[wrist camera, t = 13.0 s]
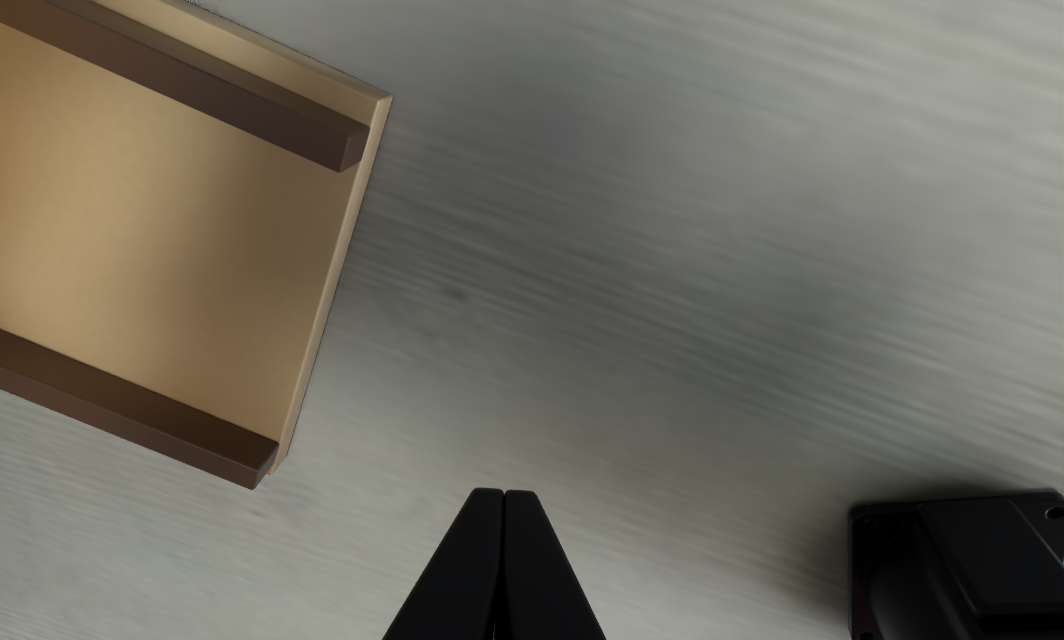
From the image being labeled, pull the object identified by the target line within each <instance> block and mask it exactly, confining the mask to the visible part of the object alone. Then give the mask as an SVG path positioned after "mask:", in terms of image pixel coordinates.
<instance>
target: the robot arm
mask: <svg viewBox="0 0 1064 640" xmlns="http://www.w3.org/2000/svg"><path fill="white" fill-rule="evenodd" d="M1053 507H1054V508H1053ZM1051 508H1052V509H1051ZM1049 509H1050V510H1049ZM866 519H870V520H869V521H866V522H862V521H863V520H866ZM1063 563H1064V497H1063V496H1062V495H1061V494H1059V493H1056V492H1044V493H1030V494H1015V495H1001V496H986V497H972V498H958V499H943V500H929V501H915V502H900V503H886V504H871V505H862V506H857V507H856V508H854V509H852V510H851V512H850V513H849V515H848V630H849V633H850V635H851V638H852V640H1064V564H1063ZM493 637H494V640H606V638H605V636H604V633H603V631H602V629H601V627H600V625H599V623H598V621H597V619H596V617H595V615H594V613H593V611H592V609H591V606H590V604H589V602H588V600H587V598H586V596H585V594H584V592H583V590H582V588H581V586H580V584H579V582H578V580H577V577H576V575H575V573H574V571H573V569H572V567H571V565H570V563H569V561H568V559H567V557H566V555H565V553H564V550H563V548H562V546H561V544H560V542H559V540H558V538H557V536H556V534H555V532H554V530H553V528H552V526H551V524H550V521H549V519H548V517H547V515H546V513H545V511H544V509H543V507H542V505H541V503H540V501H539V499H538V497H537V495H536V494H535V493H534V492H533V491H525V490H507V491H506V492H505V494H504V493H503V491H502V490H501V489H494V488H475V489H474V490H473V491H472V492H471V493H470V495H469V497H468V498H467V500H466V502H465V503H464V505H463V507H462V508H461V510H460V511H459V513H458V515H457V516H456V518H455V520H454V521H453V523H452V525H451V526H450V528H449V530H448V531H447V533H446V535H445V536H444V538H443V540H442V541H441V543H440V544H439V546H438V548H437V549H436V551H435V553H434V554H433V556H432V558H431V559H430V561H429V563H428V564H427V566H426V568H425V569H424V571H423V573H422V574H421V576H420V577H419V579H418V581H417V582H416V584H415V586H414V587H413V589H412V591H411V592H410V594H409V596H408V597H407V599H406V601H405V602H404V604H403V606H402V607H401V609H400V610H399V612H398V614H397V615H396V617H395V619H394V620H393V622H392V624H391V625H390V627H389V629H388V630H387V632H386V634H385V635H384V637H383V638H382V640H493Z"/></svg>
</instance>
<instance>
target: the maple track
mask: <svg viewBox="0 0 1064 640" xmlns="http://www.w3.org/2000/svg"><path fill="white" fill-rule="evenodd" d="M391 102H392V95H390V94H388V93H386V92H384V91H382V90H379V89H377V88H375V87H373V86H371V85H368V84H366V83H364V82H362V81H360V80H357V79H355V78H353V77H351V76H349V75H347V74H344V73H342V72H340V71H338V70H336V69H333V68H331V67H329V66H327V65H325V64H322V63H320V62H318V61H316V60H314V59H312V58H309V57H307V56H305V55H303V54H301V53H298V52H296V51H294V50H292V49H290V48H288V47H285V46H283V45H281V44H279V43H277V42H274V41H272V40H270V39H268V38H266V37H263V36H261V35H259V34H257V33H255V32H253V31H250V30H248V29H246V28H244V27H242V26H239V25H237V24H235V23H233V22H231V21H228V20H226V19H224V18H222V17H220V16H218V15H215V14H213V13H211V12H209V11H207V10H204V9H202V8H200V7H198V6H196V5H193V4H191V3H189V2H187V1H185V0H0V389H1V390H4V391H6V392H9V393H11V394H14V395H16V396H19V397H21V398H24V399H26V400H29V401H31V402H34V403H36V404H39V405H41V406H44V407H46V408H49V409H51V410H54V411H56V412H58V413H61V414H63V415H66V416H68V417H71V418H73V419H76V420H78V421H81V422H83V423H86V424H88V425H91V426H93V427H96V428H98V429H101V430H103V431H106V432H108V433H111V434H113V435H116V436H118V437H121V438H123V439H126V440H128V441H131V442H133V443H136V444H138V445H141V446H143V447H146V448H148V449H151V450H153V451H156V452H158V453H161V454H163V455H166V456H168V457H171V458H173V459H176V460H178V461H181V462H183V463H186V464H188V465H191V466H193V467H195V468H198V469H200V470H203V471H205V472H208V473H210V474H213V475H215V476H218V477H220V478H223V479H225V480H228V481H230V482H233V483H235V484H238V485H240V486H243V487H245V488H248V489H250V490H253V489H255V488H256V486H257V485H258V484H259V482H260V481H261V480H262V478H263V477H264V476H265V474H268V475H272V474H273V473H274V471H275V470H276V469H277V467H278V466H279V465H280V463H281V462H282V461H283V459H284V458H285V456H286V455H287V452H288V448H289V445H290V441H291V438H292V435H293V431H294V428H295V425H296V421H297V418H298V415H299V411H300V408H301V404H302V401H303V398H304V394H305V391H306V388H307V384H308V381H309V378H310V374H311V371H312V367H313V364H314V361H315V357H316V354H317V351H318V347H319V344H320V341H321V337H322V334H323V330H324V327H325V324H326V320H327V317H328V314H329V310H330V307H331V304H332V300H333V297H334V293H335V290H336V287H337V283H338V280H339V277H340V273H341V270H342V267H343V263H344V260H345V257H346V253H347V250H348V246H349V243H350V240H351V236H352V233H353V230H354V226H355V223H356V220H357V216H358V213H359V209H360V206H361V203H362V199H363V196H364V193H365V189H366V186H367V183H368V179H369V176H370V172H371V169H372V166H373V162H374V159H375V156H376V152H377V149H378V146H379V142H380V139H381V135H382V132H383V129H384V125H385V122H386V119H387V115H388V112H389V109H390V105H391Z"/></svg>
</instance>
